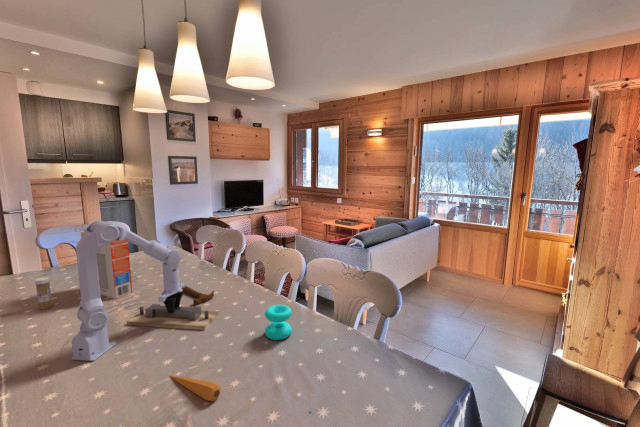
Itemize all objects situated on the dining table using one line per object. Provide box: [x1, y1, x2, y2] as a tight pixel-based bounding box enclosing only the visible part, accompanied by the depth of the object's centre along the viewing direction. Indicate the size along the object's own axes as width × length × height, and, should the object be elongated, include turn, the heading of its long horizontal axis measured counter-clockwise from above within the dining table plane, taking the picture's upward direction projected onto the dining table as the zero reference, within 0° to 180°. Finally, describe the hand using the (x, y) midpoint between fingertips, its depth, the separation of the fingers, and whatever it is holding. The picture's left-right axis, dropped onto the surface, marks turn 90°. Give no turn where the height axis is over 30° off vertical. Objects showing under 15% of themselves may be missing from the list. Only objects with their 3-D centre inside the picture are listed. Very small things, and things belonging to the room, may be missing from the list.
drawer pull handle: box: [144, 303, 202, 321], centre depth 120 cm, size 5×21×4 cm, turn 85°
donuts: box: [264, 304, 293, 341], centre depth 110 cm, size 10×10×10 cm
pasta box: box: [80, 231, 133, 300], centre depth 145 cm, size 23×8×30 cm, turn 65°
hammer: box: [181, 285, 215, 306], centre depth 146 cm, size 12×3×30 cm
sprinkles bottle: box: [34, 276, 53, 310], centre depth 129 cm, size 5×5×14 cm
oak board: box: [126, 306, 219, 331], centre depth 120 cm, size 12×32×4 cm, turn 84°
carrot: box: [169, 375, 222, 402], centre depth 83 cm, size 20×4×4 cm, turn 62°
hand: (173, 310), depth 120 cm, fingers closed on drawer pull handle, 3 cm apart
